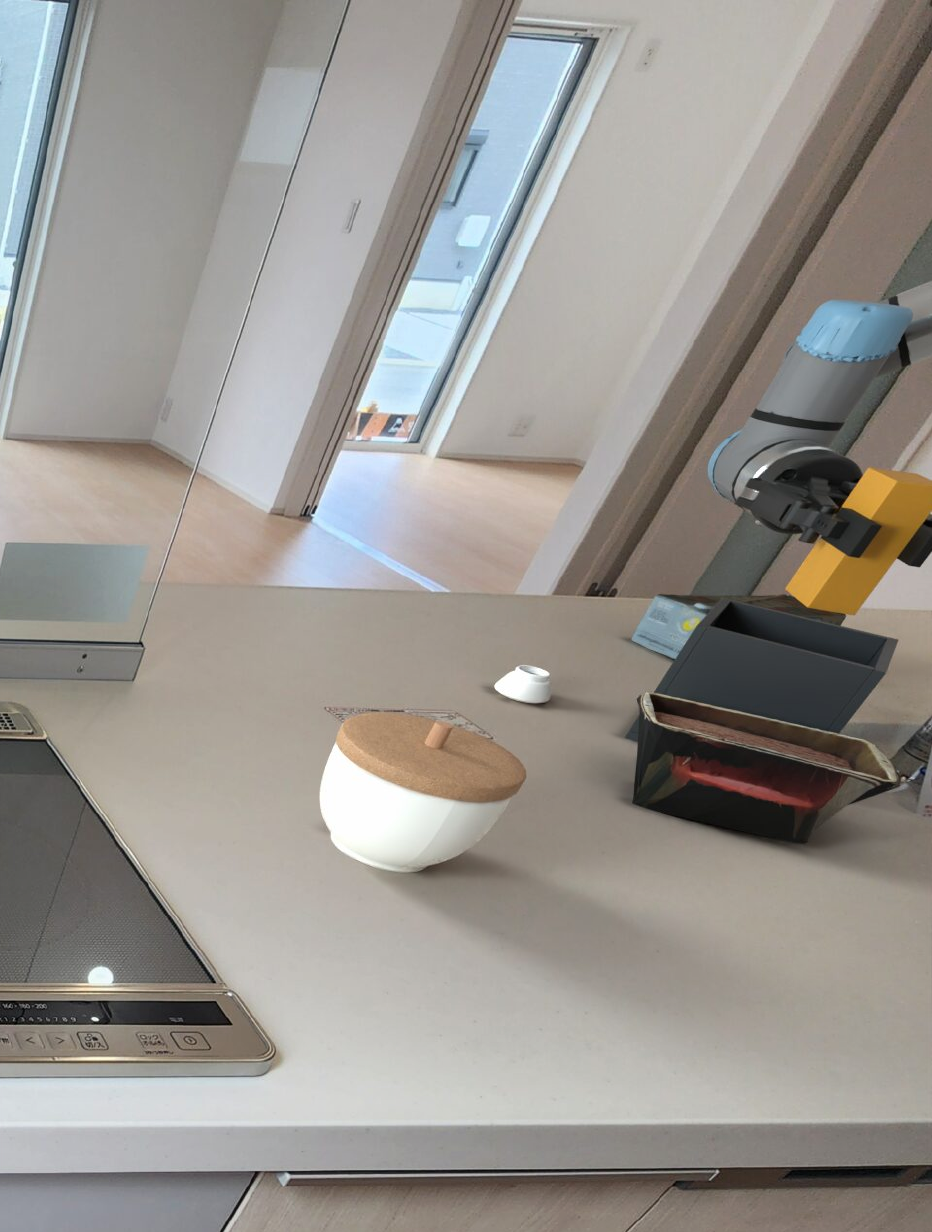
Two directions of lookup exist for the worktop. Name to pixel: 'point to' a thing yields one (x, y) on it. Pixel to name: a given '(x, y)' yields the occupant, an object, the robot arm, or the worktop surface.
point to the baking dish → (750, 769)
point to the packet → (851, 580)
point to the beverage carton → (682, 613)
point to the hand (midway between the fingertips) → (895, 545)
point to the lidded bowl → (413, 790)
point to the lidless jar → (526, 685)
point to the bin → (777, 666)
